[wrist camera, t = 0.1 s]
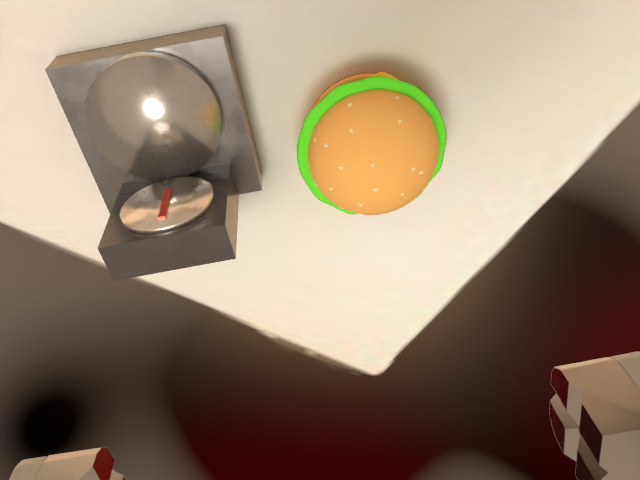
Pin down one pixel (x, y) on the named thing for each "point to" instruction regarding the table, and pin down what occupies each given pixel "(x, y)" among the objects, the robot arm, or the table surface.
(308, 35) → the table surface
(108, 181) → the dial scale
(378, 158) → the hamburger
